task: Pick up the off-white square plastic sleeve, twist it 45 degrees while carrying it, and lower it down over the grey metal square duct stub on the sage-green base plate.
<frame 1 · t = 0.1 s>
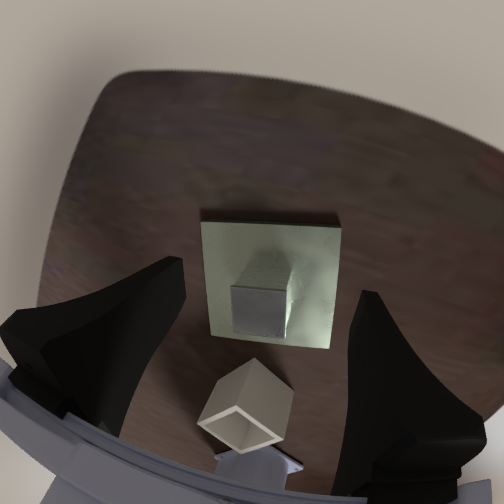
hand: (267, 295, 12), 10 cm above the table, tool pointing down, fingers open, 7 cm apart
duct stub: (270, 284, 23), on the table
sleeve: (255, 386, 28), on the table
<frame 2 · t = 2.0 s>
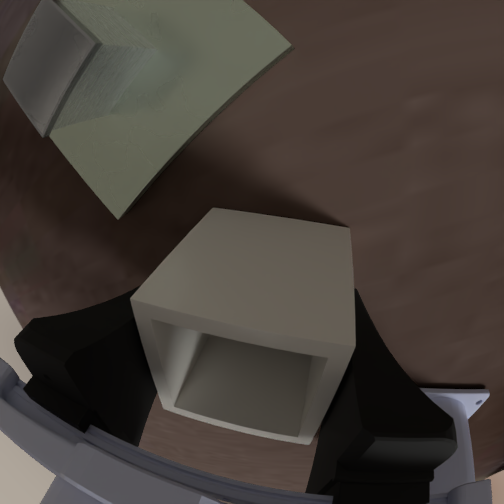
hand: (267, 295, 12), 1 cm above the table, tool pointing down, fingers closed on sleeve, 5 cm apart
duct stub: (118, 59, 10), on the table
sleeve: (274, 275, 13), on the table, touching gripper
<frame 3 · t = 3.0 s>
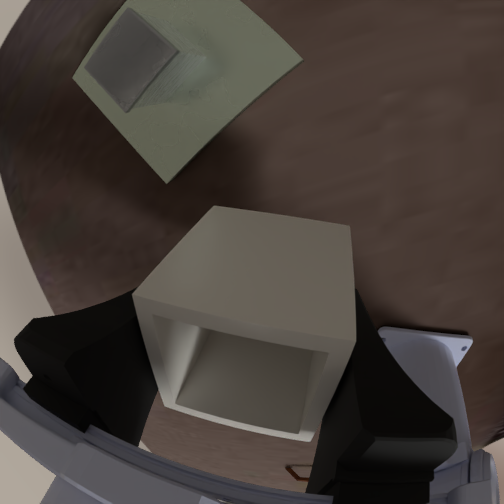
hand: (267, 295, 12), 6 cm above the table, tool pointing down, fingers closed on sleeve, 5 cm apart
duct stub: (171, 61, 14), on the table
sleeve: (274, 272, 13), point 5 cm above the table, touching gripper
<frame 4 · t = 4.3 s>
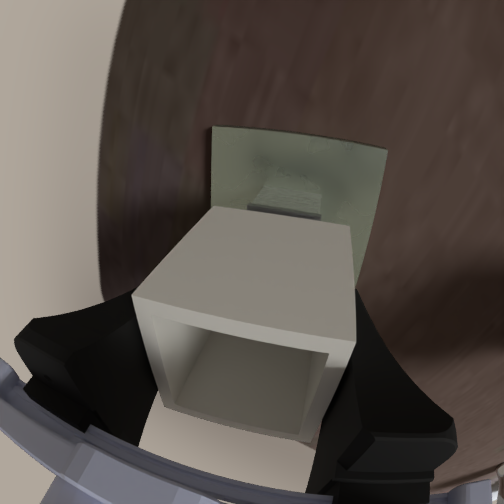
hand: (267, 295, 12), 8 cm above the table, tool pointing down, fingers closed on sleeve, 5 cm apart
duct stub: (291, 211, 19), on the table
sleeve: (274, 273, 13), point 7 cm above the table, touching gripper
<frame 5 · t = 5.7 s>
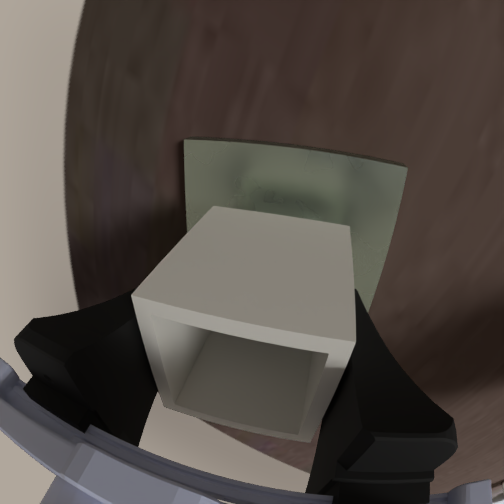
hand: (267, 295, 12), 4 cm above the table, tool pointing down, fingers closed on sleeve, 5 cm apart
duct stub: (285, 242, 15), on the table
sleeve: (274, 273, 13), point 3 cm above the table, touching gripper
when the fingers open (3 cm above the table, at t = 6.6 s): sleeve stays where it is, resting on duct stub.
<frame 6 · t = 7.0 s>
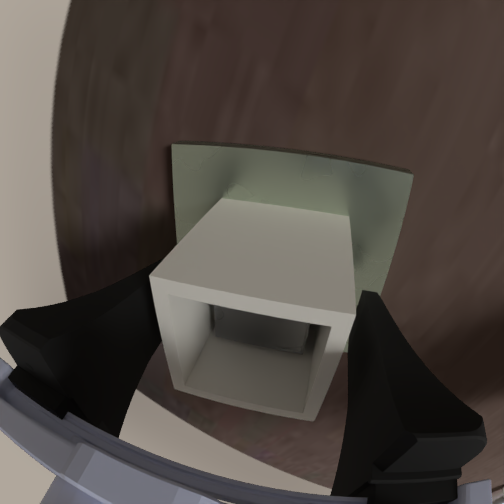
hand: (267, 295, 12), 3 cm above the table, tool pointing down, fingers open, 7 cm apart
duct stub: (281, 254, 15), on the table
sleeve: (278, 262, 14), point 1 cm above the table, touching duct stub
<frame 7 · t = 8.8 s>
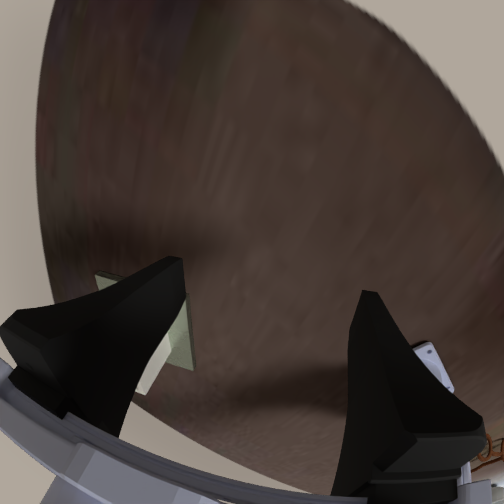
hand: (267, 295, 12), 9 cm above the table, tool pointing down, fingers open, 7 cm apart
serving bowl: (475, 492, 43), on the table
duct stub: (147, 321, 29), on the table
sleeve: (144, 325, 28), point 1 cm above the table, touching duct stub
glasses: (467, 450, 32), on the table
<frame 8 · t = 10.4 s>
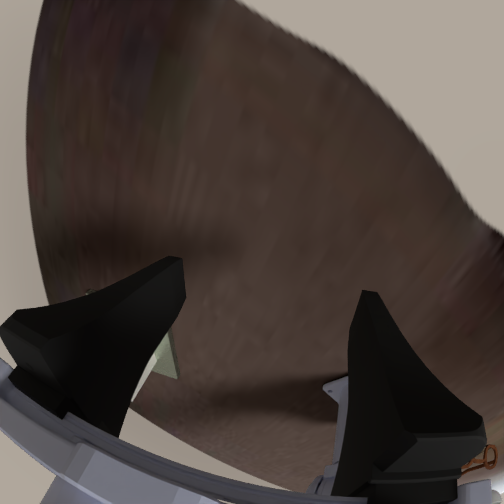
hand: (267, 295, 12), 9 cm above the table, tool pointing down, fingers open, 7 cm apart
serving bowl: (467, 494, 44), on the table
duct stub: (134, 334, 31), on the table
glasses: (450, 456, 33), on the table
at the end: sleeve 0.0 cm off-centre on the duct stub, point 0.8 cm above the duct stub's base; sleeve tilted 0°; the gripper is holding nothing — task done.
